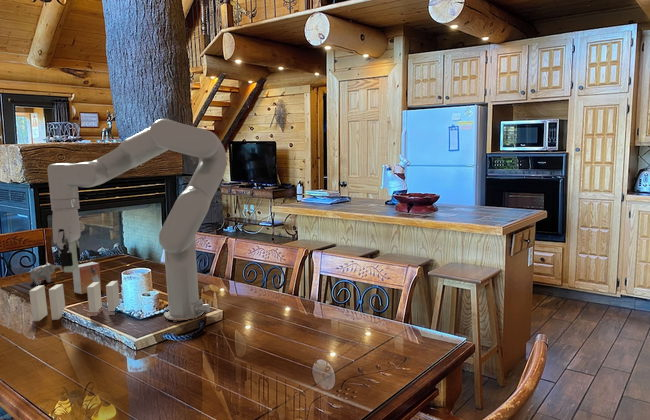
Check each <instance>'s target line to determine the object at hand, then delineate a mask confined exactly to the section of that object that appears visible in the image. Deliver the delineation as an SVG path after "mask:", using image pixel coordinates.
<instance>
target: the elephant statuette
mask: <svg viewBox="0 0 650 420" xmlns="http://www.w3.org/2000/svg"><path fill="white" fill-rule="evenodd" d="M57 268H59V269H60V271H61V272H64V268H63V267H62V266H61V264H60V265H59V264H57V265H56V264H52V263H49V262H45V264H44V265H40V266H36V267H34V268H32V269H31V270H30V271H29V277H30V279H31V282H34V284H35V286H37V285H38V286H40V285H41V282H40V279H42V280H43V281H44V280H46V281H45V282H47V284H50V283H51V282H52V274H54V273H55V269H57Z"/></svg>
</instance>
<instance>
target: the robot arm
mask: <svg viewBox="0 0 650 420" xmlns="http://www.w3.org/2000/svg"><path fill="white" fill-rule="evenodd" d="M168 151H172V152H175V153H176V152H177V153H179V154H183V155H187V156H190V157H196V158H198V159H199V160H198V165H197V167H196V168H195V171H194V172H193V174H192V177H191V179H190V180H189V183H188V184H187V186H186V188H185V189H184V190H183V191H182V192H181V193H180V194H179V196H177V198H176V200H175V202H174V204H173V206H172V208H171V209H170V212H169V214H168V216H167V217H166V219H165V220H164V222H163V224H162V227H161V229H160V230H159V234H158V242H159V244H160V246H161V249H163V250H164V266H165V277H166V278H165V279H166V280H165V281H166V291H167V292H166V294H167V305H168V306H167V307H168V310H169V311H168V312H166V311H165V312H164V313H163V317H164V316H165V317H166V318H168V319H175V320H176V319H189V318H193V317H197V316H200V315H202V314H203V313H204V312H205V313H210V310H211V306H210V303H203V299H200V296H199V284H198V268H197V249H196V248H197V247H196V246H197V243H196V240H197V239H196V234H197V232H198V231H199V229H200V227H201V225H202V223H203V221H204V219H205V218H206V216H207V214H208V212H209V209H210V206H211V202H212V201H213V198H214V196H215V194H216V192H217V190H218V189H219V186H220V184H221V182H222V180H223V177H224V176H225V172H226V169H227V164H228V162H227V160H228V159H227V153H226V149H225V147H224V145H223V143H222V142H221V139H220V138H219V137H218V136H217V135H216V134H215V132H212V131H210V130H209V129H205V128H201V127H196V126H192V125H189V124H186V123H185V124H184V123H181V122H178V121H175V120H172V119H170V118H160V119H159V118H158V119H157V120H155V121H154V122H153V123H152V124H151V126H148V127H147V128H145V129H143V130H142V131H139V132H138V133H136V134H134V135H132V136H129V137H127V138H125V139H124V140H123V141H121V143H120V144H119V145H117V147H116V148H114V149H113V150H111V151H109V152H108V153H105V154H104V155H102V156H101V157H99V158H96V159H94V160H91V161H83V162H78V163H71V162H64V163H63V162H62V163H61V162H60V163H59V162H58V163H51V164H49V165H48V166H47V178H48V187H49V198H50V207H51V211H52V218H51V219H52V223H51V224H52V225H51V226H52V242H53V244H54V245H56V246H57V247H58V248H57V249H58V254H59V260H60V266H61V268H64V266H72V265H73V260H72V252H71V253H70V248H71V243H72V242H74V241H76V247H77V258H78V262H80V261H81V248H80V247H81V246H80V238H81V235H82V234H81V231H82V230H81V223H80V216H79V209H81V208H80V207H81V206H80V199H79V198H80V196H79V188H92V187H93V188H94V187H96V186H100V185H102V184H105V183H106V182H108V181H110V180H112V179H114V178H116V177H118V176H120V175H122V174H124V173H125V172H127V171H129V170H131V169H134V168H137V167H139V166H141V165H142V164H144V163H146V162H148V161H150V160H152V159H153V158H156V157H158V156H159V155H161V154H163V153H165V152H168ZM64 240H68V241H67V242H63V241H64ZM66 245H67V247H66ZM205 313H204V314H205ZM204 314H203V315H204ZM203 315H202V316H203Z"/></svg>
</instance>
